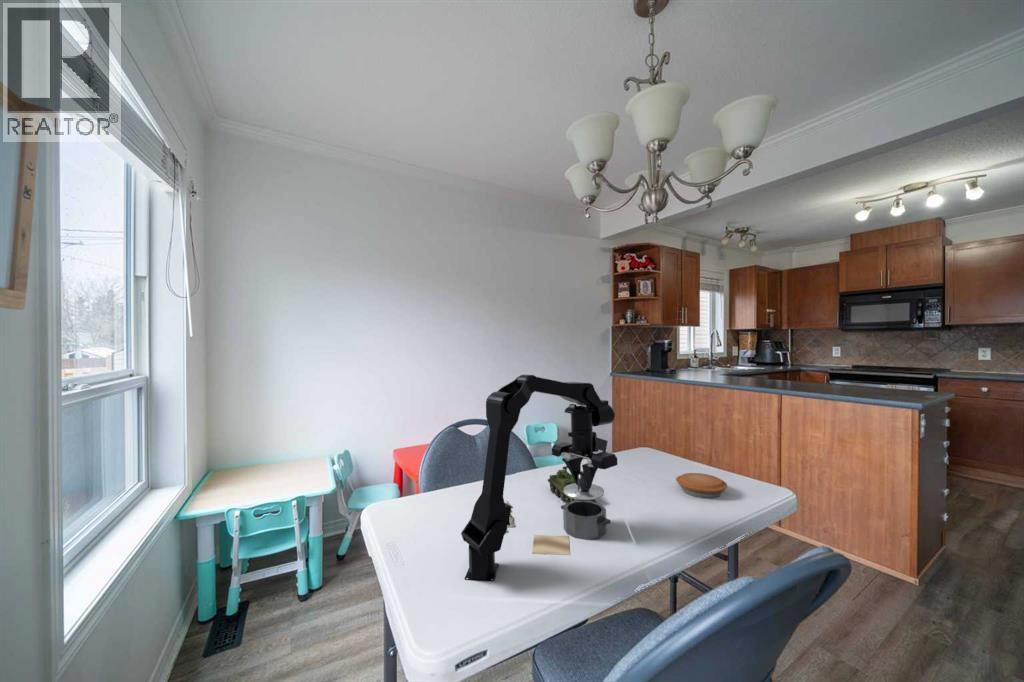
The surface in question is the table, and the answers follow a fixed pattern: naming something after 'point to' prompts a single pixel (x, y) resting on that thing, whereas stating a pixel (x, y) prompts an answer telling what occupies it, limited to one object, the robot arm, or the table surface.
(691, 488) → the pie
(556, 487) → the toy vehicle
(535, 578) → the table surface
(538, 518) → the table surface
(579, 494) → the lid
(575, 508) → the pot
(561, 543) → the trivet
